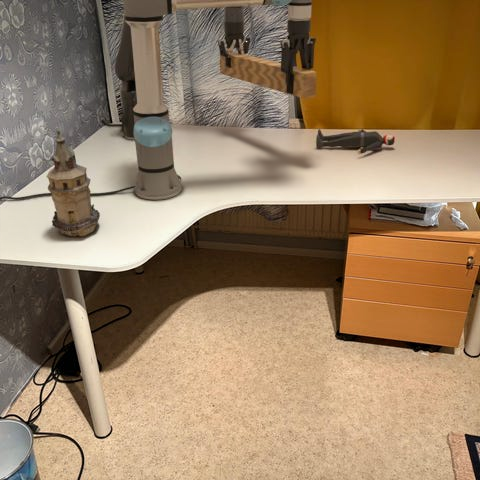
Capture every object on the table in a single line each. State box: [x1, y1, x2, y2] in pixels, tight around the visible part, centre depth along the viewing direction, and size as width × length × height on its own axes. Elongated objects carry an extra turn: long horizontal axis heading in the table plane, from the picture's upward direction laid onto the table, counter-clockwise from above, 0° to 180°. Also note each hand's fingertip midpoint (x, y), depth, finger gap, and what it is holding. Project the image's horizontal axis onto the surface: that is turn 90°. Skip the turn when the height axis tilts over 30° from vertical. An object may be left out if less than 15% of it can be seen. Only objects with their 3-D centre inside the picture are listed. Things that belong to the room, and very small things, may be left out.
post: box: [219, 51, 317, 100], centre depth 196 cm, size 51×5×8 cm, turn 35°
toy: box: [315, 128, 396, 155], centre depth 211 cm, size 26×6×30 cm
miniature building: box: [46, 129, 101, 237], centre depth 148 cm, size 13×14×30 cm
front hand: (296, 91), depth 184 cm, fingers closed on post, 5 cm apart
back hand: (234, 66), depth 209 cm, fingers closed on post, 5 cm apart
